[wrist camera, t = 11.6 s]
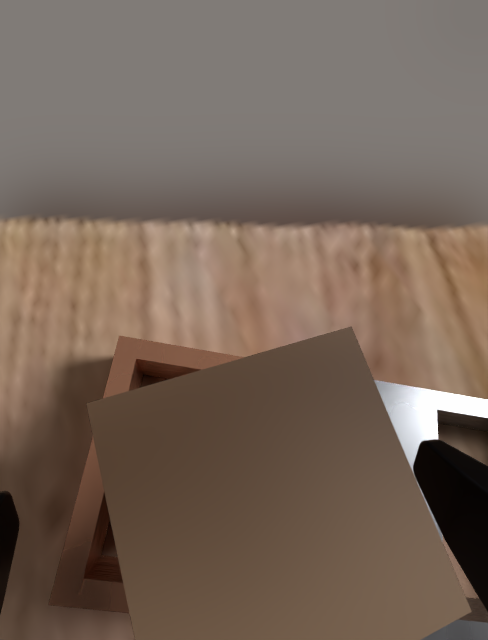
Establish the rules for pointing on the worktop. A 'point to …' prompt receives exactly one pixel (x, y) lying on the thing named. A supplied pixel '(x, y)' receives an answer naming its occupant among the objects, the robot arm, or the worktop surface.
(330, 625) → the peg
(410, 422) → the rail
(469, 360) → the worktop surface
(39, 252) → the worktop surface
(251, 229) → the worktop surface
